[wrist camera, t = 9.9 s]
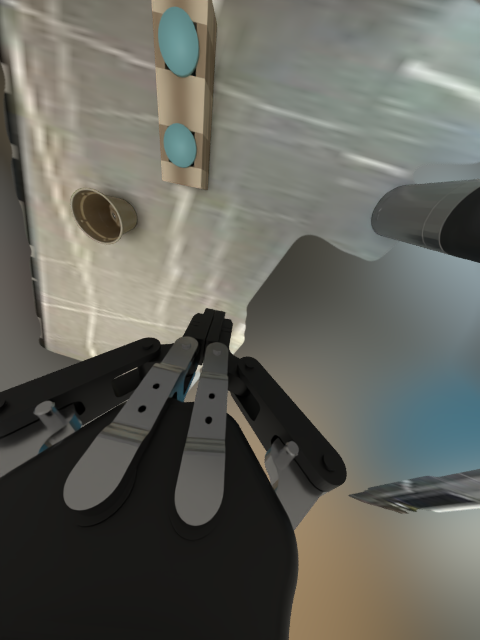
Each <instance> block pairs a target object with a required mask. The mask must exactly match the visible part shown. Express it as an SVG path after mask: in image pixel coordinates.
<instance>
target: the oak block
mask: <svg viewBox="0 0 480 640" xmlns="http://www.w3.org/2000/svg"><path fill="white" fill-rule="evenodd" d="M170 7H179V8H181V9H183V10H184V11H185V12H186V13H187V14H188V15H189V17H190V18H191V20H192V22H193V24H194V27H195V30H196V33H197V36H198V40H199V60H198V64H197V67H196V77H195V76H191V75H190V76H188V77H185V78H181V77H178V76H176V75H175V74H174V73H173V72H172V71H171V70H170V69H169V68H168V66H167V64H166V63H165V61H164V59H163V57H162V54H161V51H160V47H159V41H158V28H159V23H160V20H161V17H162V15H163V13H164V12H165V11H166V10H167V9H168V8H170ZM152 15H153V31H154V48H155V65H156V82H157V99H158V115H159V132H160V149H161V166H162V181H167V182H171V183H176V184H181V185H186V186H190V187H195V188H200V189H205V190H208V174H209V156H210V139H211V121H212V103H213V85H214V68H215V50H216V32H217V23H216V18H215V13H214V8H213V3H212V0H152ZM174 123H179V124H182V125H184V126H185V127H187V128H188V129H189V131H190V132H191V133H192V135H193V136H194V139H195V141H196V146H197V154H196V159H195V161H194V167H190V166H189V167H187V168H181V167H178V166H176V165H175V164H173V163H172V162H171V161H170V160H169V158H168V156H167V154H166V152H165V149H164V134H165V131H166V130H167V128H168V127H169V126H170V125H172V124H174Z"/></svg>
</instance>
